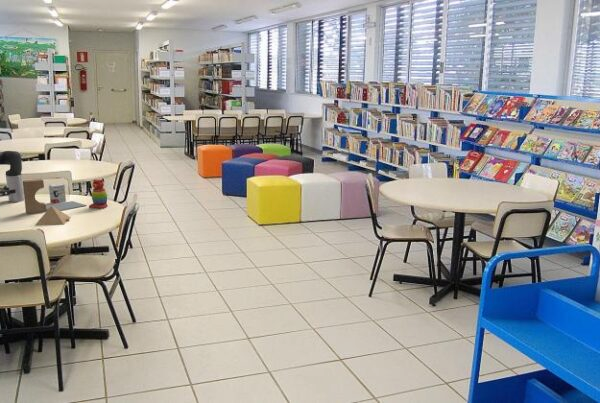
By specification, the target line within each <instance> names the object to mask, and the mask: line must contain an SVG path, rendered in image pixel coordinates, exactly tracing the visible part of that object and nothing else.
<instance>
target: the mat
mask: <svg viewBox="0 0 600 403" xmlns="http://www.w3.org/2000/svg"><path fill="white" fill-rule="evenodd" d="M51 206H53V207H55V208H56V209H58V210H59V211H61V212H63V211H68V210H72V209H78V208H82V207H87V204H83V203H80V202H77V201H73V200H72V201H71V200H70V201H66V202H61V203H55V204H50V205H46V211H47V210H48V209H49V208H50V207H51Z"/></svg>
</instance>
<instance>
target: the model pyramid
mask: <svg viewBox="0 0 600 403" xmlns="http://www.w3.org/2000/svg"><path fill="white" fill-rule="evenodd" d="M70 219H71V216H69V215H68V214H66V213H65V212H63V211H59V210H58V209H56V208H55V207H53V206H51V207H50V208H49V209H48V210H46V212H44V214H43V215H42V216H41V218H39V219H38V220H37V222H36V223H35V224H34V226H37V227H39V226H59V225H60V226H64V225H65V224H66V223H68V222H69V221H70Z"/></svg>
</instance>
